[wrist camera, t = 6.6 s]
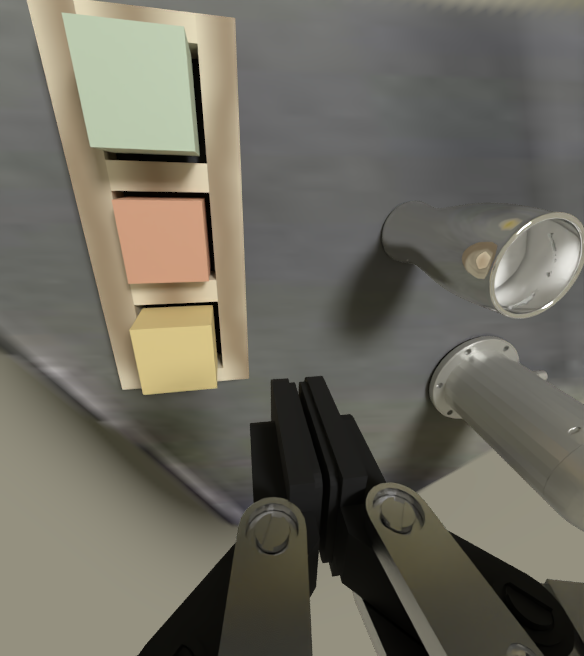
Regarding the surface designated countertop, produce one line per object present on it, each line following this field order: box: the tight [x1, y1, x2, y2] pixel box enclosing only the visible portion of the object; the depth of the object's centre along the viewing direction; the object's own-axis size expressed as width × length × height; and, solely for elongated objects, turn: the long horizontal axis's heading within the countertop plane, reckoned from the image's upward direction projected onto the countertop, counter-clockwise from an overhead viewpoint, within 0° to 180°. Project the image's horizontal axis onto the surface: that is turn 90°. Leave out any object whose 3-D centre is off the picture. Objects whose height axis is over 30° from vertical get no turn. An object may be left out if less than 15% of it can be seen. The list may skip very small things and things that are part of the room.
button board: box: [27, 0, 249, 390], centre depth 27 cm, size 12×28×3 cm, turn 179°
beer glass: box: [382, 201, 584, 319], centre depth 26 cm, size 7×7×15 cm
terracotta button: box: [112, 197, 211, 284], centre depth 25 cm, size 6×6×4 cm
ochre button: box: [129, 305, 218, 395], centre depth 28 cm, size 6×6×4 cm
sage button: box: [62, 13, 200, 156], centre depth 20 cm, size 6×6×4 cm
